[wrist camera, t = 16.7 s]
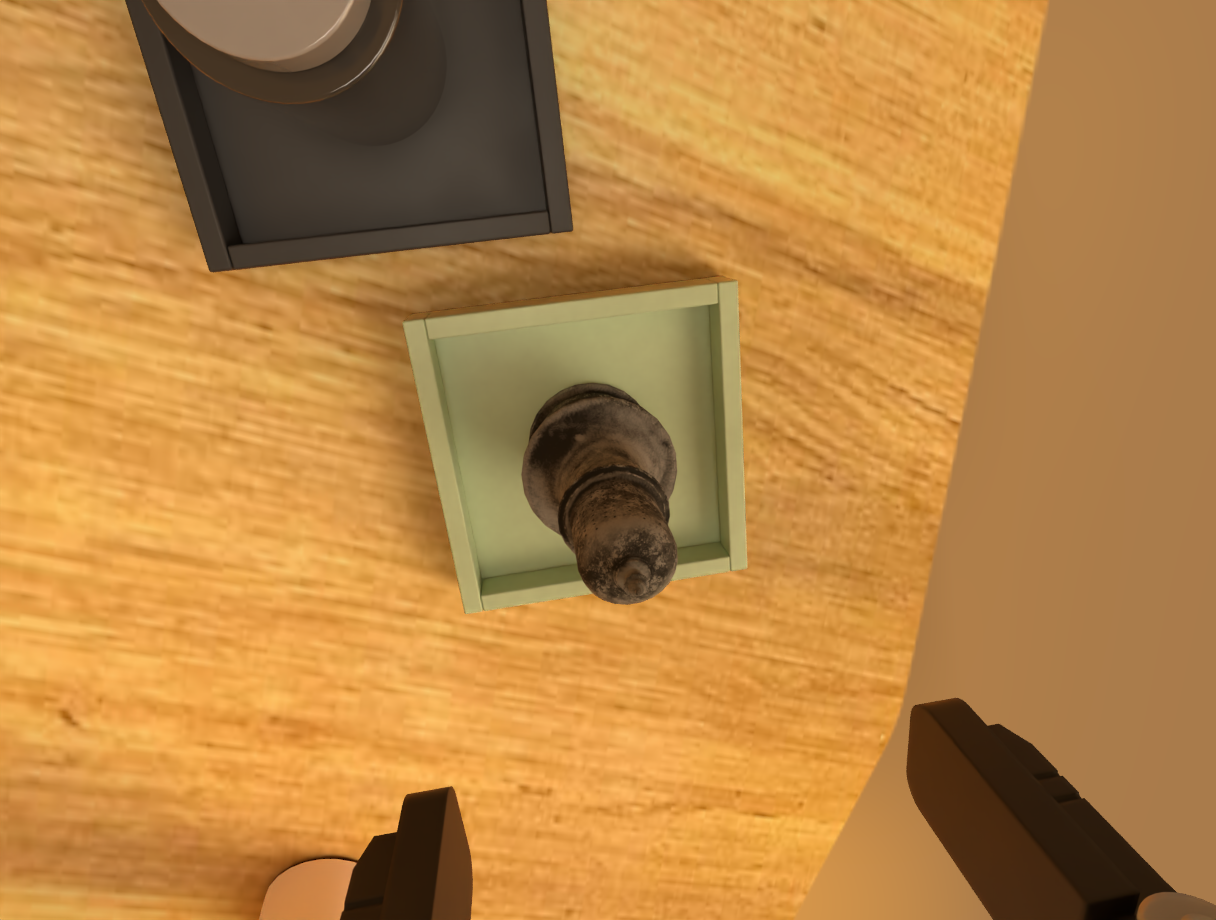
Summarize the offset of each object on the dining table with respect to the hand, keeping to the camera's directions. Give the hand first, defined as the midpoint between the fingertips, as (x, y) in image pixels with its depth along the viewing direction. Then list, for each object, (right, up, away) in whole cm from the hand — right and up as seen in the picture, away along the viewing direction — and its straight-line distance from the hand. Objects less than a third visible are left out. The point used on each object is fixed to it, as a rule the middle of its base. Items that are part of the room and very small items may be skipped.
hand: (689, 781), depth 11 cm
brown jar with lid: (-10, +19, +11) cm, 24 cm away
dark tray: (-10, +19, +11) cm, 24 cm away
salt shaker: (-2, +6, +17) cm, 18 cm away
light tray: (-2, +6, +17) cm, 18 cm away
